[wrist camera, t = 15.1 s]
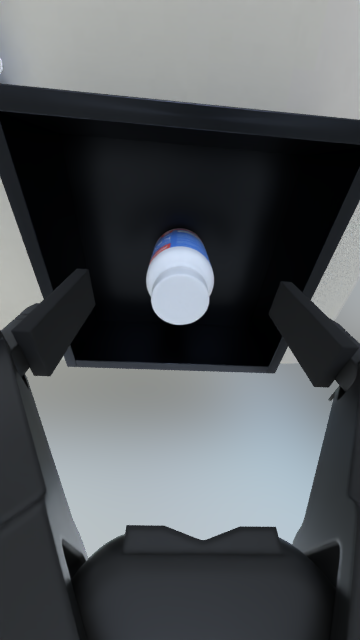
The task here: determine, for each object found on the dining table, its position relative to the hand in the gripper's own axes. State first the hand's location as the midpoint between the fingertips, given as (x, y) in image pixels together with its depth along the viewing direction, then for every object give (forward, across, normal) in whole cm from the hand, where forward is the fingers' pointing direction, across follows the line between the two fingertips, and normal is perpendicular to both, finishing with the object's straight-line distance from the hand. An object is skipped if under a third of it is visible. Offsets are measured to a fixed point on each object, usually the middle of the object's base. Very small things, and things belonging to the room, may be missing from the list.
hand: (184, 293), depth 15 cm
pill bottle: (+9, 0, 0) cm, 9 cm away
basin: (+10, 0, 0) cm, 10 cm away
